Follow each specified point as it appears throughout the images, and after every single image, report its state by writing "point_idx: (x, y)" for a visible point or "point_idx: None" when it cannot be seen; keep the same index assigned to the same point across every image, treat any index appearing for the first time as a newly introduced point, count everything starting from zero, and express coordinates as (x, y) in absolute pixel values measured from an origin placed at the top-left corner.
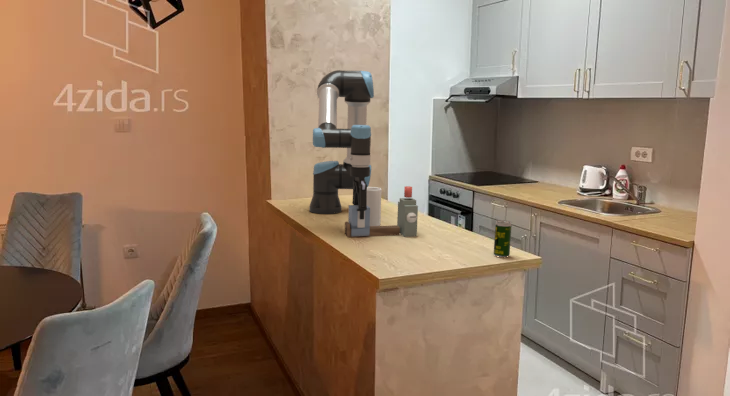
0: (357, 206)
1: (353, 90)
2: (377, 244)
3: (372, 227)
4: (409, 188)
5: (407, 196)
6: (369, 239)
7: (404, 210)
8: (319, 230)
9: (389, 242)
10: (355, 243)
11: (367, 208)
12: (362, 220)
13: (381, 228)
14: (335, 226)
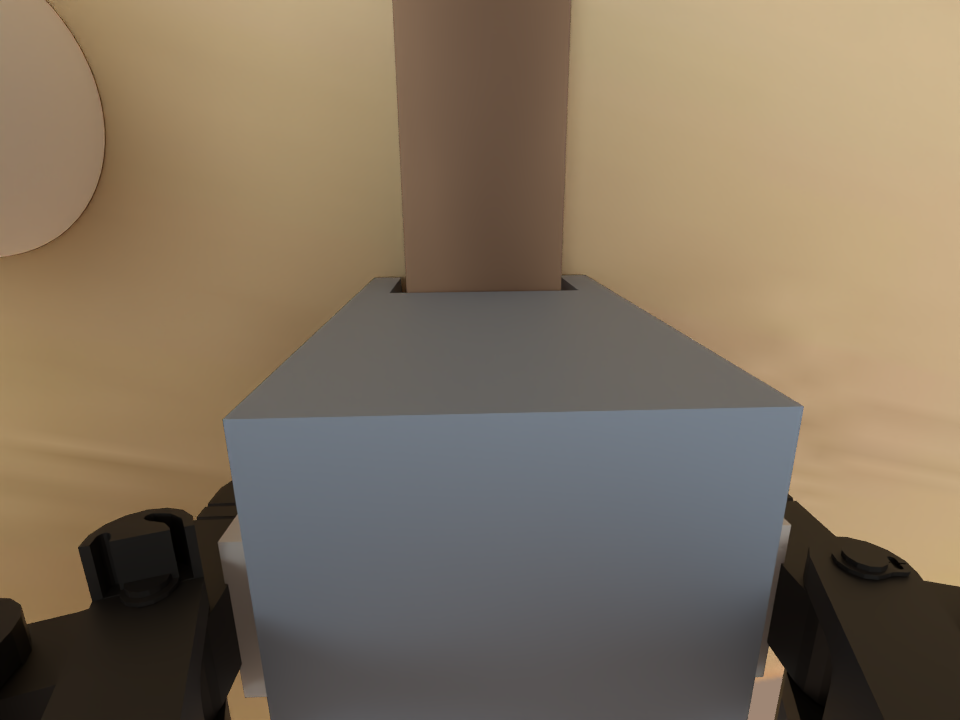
0: (495, 705)
1: None
2: (937, 261)
3: (502, 216)
4: None
5: None
6: (698, 299)
7: None
8: (232, 710)
9: (906, 83)
10: (817, 475)
11: (783, 481)
12: None
13: (567, 74)
14: (22, 553)
